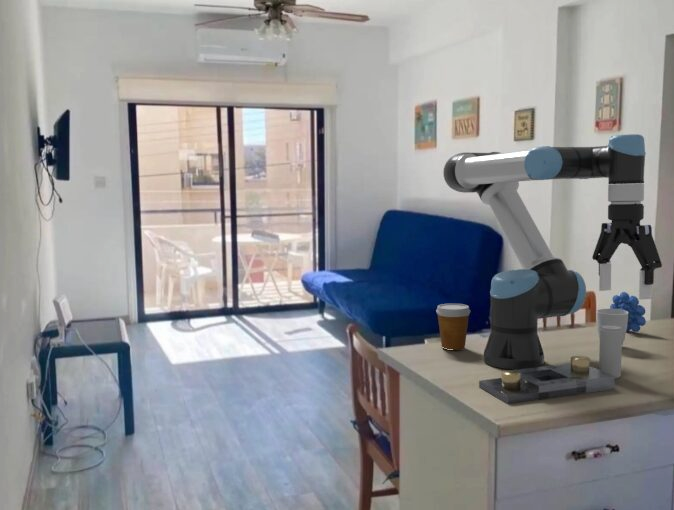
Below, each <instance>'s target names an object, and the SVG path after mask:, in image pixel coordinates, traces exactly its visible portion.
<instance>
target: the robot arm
mask: <svg viewBox="0 0 674 510" xmlns="http://www.w3.org/2000/svg"><path fill="white" fill-rule="evenodd" d="M645 147H646V145H645V137H644V136H643V135H642V134H639V133H638V134H636V133H635V134H632V133H631V134H618V135H612V136H610V137H609V139H608V144H607V145H602V146H601V145H600V146H548V145H547V146H537V147H534V148H531V149H525V150H524V149H523V150H517V151H509V152H499V151H491V152H460V153H456V154H454V155H453V156H451V157H450V158H449V159H448V160H446V162H445V165H444V168H443V171H442V173H443V178H444V181H445V183H446V185H447V186H448V187H449V188H450V189H452V190H453V191H456V192H458V193H465V194H466V193H467V194H468V193H476V194H477V195H478V197H479V199H480V200H481V203H483V204H485V205H486V206H487V205H488V206H490V208H491V210H492V212H493V214H494V216H495V218H496V220H497V222H498V223H499V226H500V228H501V230H502V231H503V234H504V235H505V238H507V239H506V240H507V241H508V243H509V245H510V247H511V248H512V250H513V253H514V254H515V256H516V258H517V260H518V261H519V263H520V266H521V268H522V269H521V268H520V269H516V270H515V269H510V270H504V271H501V272H498V273H497V274H494V276H493V277H492V279H491V283H490V291H489V293H490V332H489V336H488V339H487V341H486V344H485V348H484V351H483V362H484V363H485V364H487V365H489V366H491V367H494V368H495V367H496V368H500V369H507V370H519V369H527V368H535V367H543V366H544V365H545V353H544V350H543V349H544V348H543V347H542V343H541V340H540V337H539V334H538V324H539V323H538V321H539V319H540V320H541V319H548V318H556V317H564V316H565V317H566V316H568V315H571V314H575V313H577V312H578V311H579V310H580V309H581V308H582V307H583V306H584V303H585V301H586V296H587V285H586V282H585V280H584V278H583V276H582V275H581V274H580V273H579V272H578V271H574V270H573V269H568V268H567V266H566V265H565V263H564V261H563V260H562V259H561V258H559V257H555V256H554V255H553V253H552V252H551V250H550V248H549V246H548V245H547V242H546V241H545V240H544V239H545V238H544V237H543V235H542V234H541V232H540V230H539V229H538V226H537V225H536V223H535V221H534V219H533V217H532V215H531V214H530V212H529V210H528V208H527V206H526V205H525V203H524V201H523V199H522V198H521V196H520V193H519V192H518V189H519V186H520V184H519V183H520V182H528V181H529V182H530V181H546V180H566V179H567V180H571V179H572V180H577V179H578V180H589V179H600V178H601V179H602V178H604V179H605V178H607V179H608V185H607V187H608V188H607V201H608V202H610V204H608V205H607V219H608V221H609V220H610V221H611V222H602V223H601V225H600V226H601V230H600V233H599V237H598V239H597V242H596V245H595V248H594V251H593V254H592V259H593V260H594V261H597V263H598V276H599V280H598V281H599V284H598V285H599V287H598V288H599V291H601V292H603V291H612V262H611V259H612V257H613V255H614V254H615V252H616V251H617V249H618V248H619V246H620V245H621V244H624V245H627V246H629V247H630V248H631V249H632V251H633V253H634V256H635V257H636V259H637V261H638V263H639V264H640V266H641V268H640V269H639V283H638V284H639V287H638V288H639V289H638V292H639V294H638V300H652V299H653V285H654V281H655V280H654V279H655V270H656V269H659V268H662V267H663V263H662V261H661V258H660V255H659V252H658V249H657V246H656V243H655V240H654V237H653V234H652V233H653V230H652V226H651V224H642V225H641V221H642V220H643V219H644V216H645V215H644V214H645V210H644V209H645V205H644V204H643V203H641V202H644V200H645V199H644V198H645V163H646V162H645V161H646V148H645Z"/></svg>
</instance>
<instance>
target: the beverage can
mask: <svg viewBox="0 0 674 510" xmlns="http://www.w3.org/2000/svg"><path fill="white" fill-rule="evenodd" d="M622 346H623V345H622V327H620V326H617V325H602V326H601V328H600V339H599V351H598V352H599V357H598V358H599V361H598V362H599V363H598V370H601V371H603V372H606V373H608V374H611V375H613V376H615V380H617V379H619V378H620V377H621V376H622V354H623V353H622V349H623V347H622Z"/></svg>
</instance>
